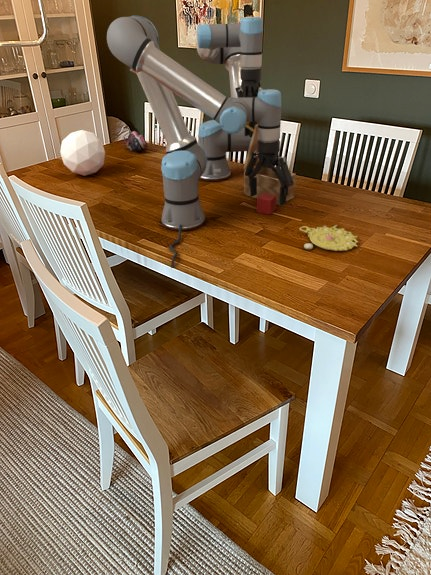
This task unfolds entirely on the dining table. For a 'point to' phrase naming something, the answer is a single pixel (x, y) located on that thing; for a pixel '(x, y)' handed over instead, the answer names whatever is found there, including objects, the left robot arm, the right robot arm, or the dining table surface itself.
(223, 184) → the dining table surface
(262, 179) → the chest
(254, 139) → the lid
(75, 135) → the sphere
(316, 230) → the decorative object
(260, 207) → the block
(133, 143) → the athletic shoe
